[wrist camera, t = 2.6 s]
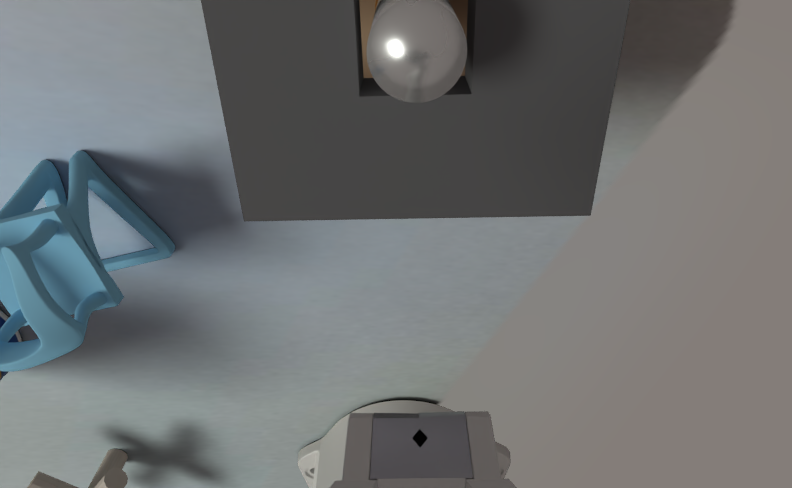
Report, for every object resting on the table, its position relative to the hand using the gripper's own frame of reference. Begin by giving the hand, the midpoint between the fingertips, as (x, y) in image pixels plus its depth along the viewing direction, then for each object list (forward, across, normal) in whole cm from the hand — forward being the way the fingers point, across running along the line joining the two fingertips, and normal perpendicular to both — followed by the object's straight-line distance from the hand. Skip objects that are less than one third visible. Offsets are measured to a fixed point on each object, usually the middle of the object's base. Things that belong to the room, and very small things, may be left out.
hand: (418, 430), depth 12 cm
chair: (+24, +21, +7) cm, 33 cm away
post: (+22, 0, -6) cm, 23 cm away
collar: (+14, 0, -6) cm, 15 cm away
